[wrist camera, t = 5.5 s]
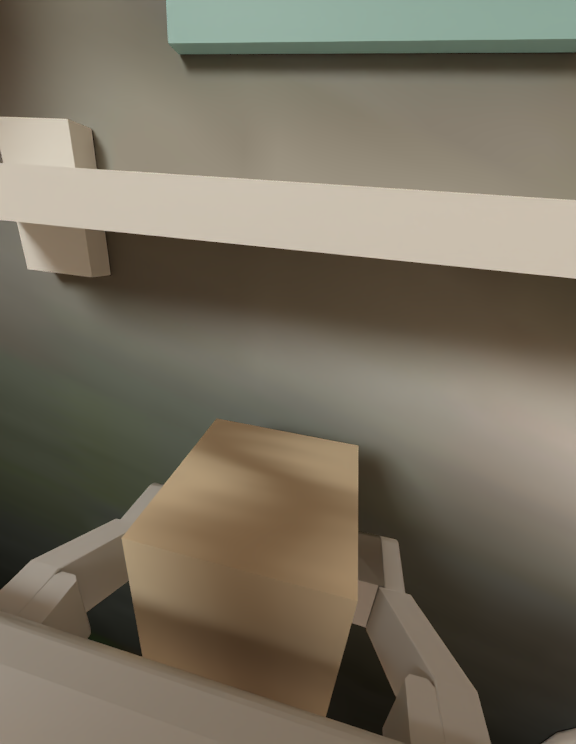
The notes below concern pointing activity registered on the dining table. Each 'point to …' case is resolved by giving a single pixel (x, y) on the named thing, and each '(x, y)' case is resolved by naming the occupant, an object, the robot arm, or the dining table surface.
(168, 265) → the dining table surface
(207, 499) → the maple block
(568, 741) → the decorative candle
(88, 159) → the divider wall
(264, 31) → the pad
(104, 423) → the dining table surface
